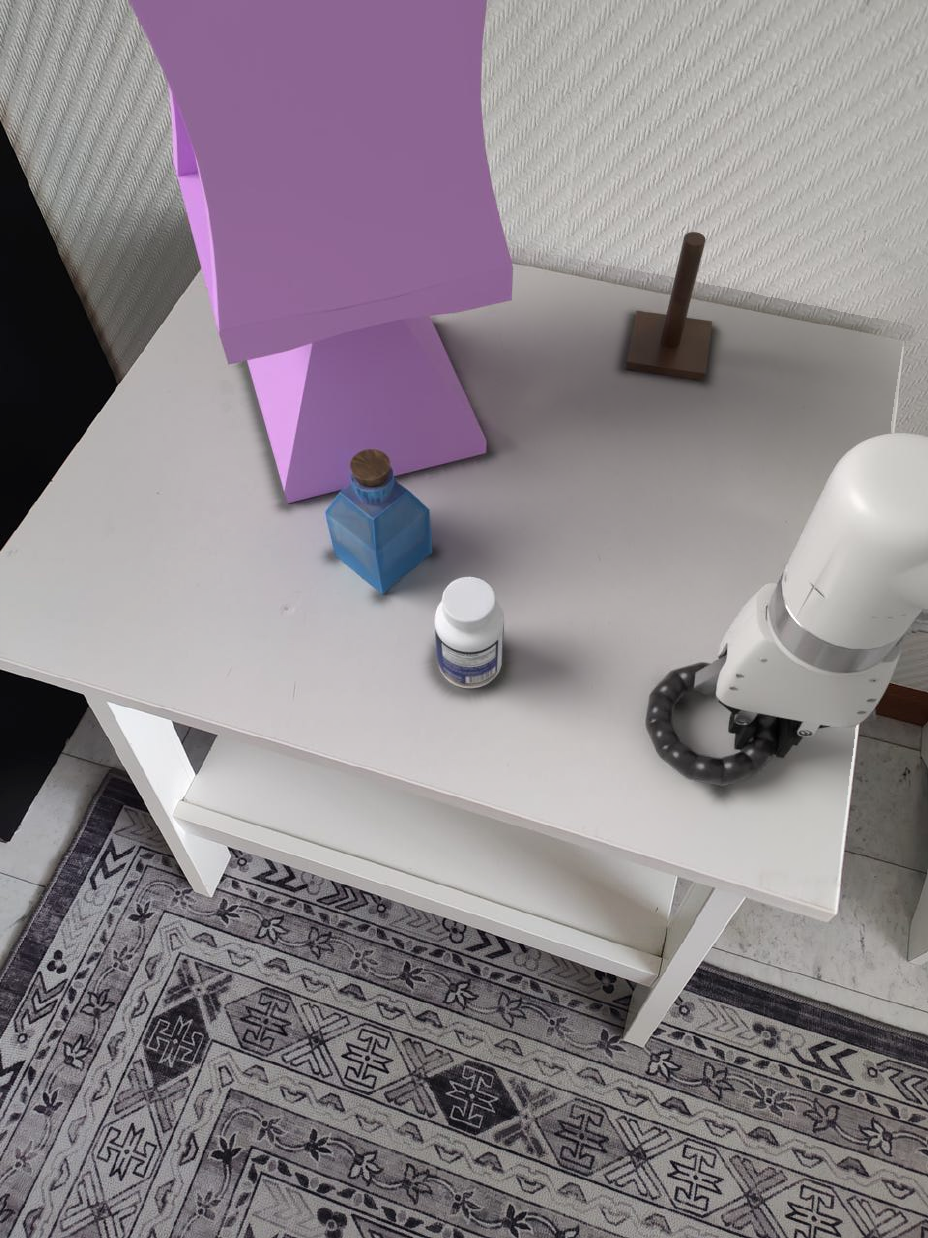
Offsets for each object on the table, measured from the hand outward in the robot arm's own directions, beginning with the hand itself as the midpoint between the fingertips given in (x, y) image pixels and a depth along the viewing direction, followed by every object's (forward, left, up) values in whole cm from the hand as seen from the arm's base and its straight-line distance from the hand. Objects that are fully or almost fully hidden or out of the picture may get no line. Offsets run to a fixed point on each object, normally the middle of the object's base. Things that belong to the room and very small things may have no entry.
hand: (759, 735), depth 69 cm
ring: (+4, 0, +1) cm, 4 cm away
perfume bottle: (+34, -11, -1) cm, 35 cm away
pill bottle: (+24, -2, -1) cm, 24 cm away
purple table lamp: (+41, -28, -1) cm, 49 cm away
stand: (+12, -43, -1) cm, 45 cm away
